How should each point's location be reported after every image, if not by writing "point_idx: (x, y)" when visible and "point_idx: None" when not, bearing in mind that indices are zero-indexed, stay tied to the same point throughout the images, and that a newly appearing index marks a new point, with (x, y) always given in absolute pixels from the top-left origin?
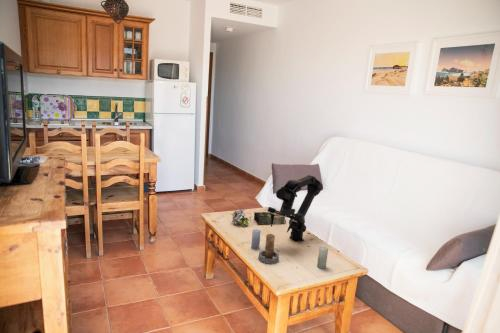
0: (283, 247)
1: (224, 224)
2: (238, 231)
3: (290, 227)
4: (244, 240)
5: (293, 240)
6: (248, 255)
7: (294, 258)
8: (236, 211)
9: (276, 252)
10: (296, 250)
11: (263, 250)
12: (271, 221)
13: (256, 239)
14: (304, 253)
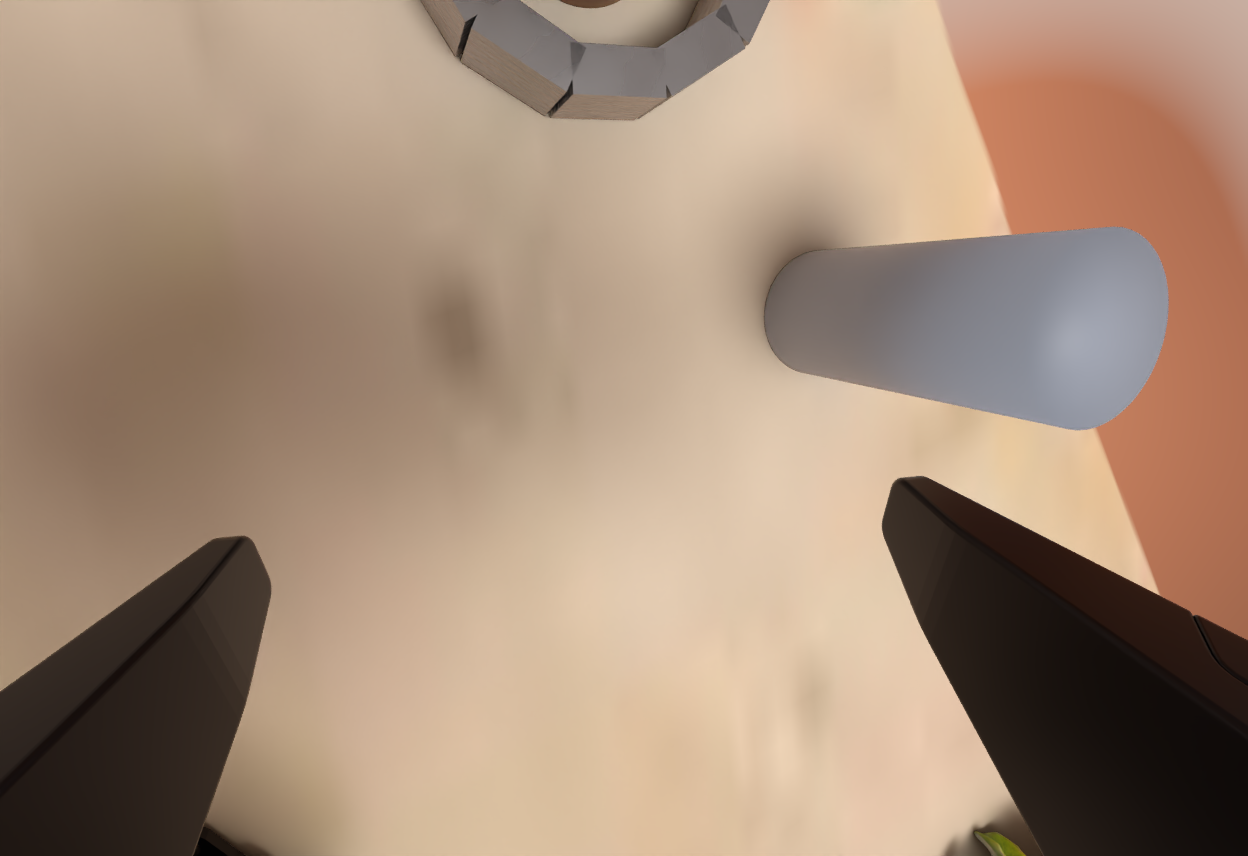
0: (378, 503)
1: None
2: None
3: None
4: (951, 488)
5: (228, 850)
6: (886, 4)
7: (21, 55)
8: None
9: (465, 8)
10: (69, 480)
11: (726, 52)
12: (1136, 586)
13: (941, 241)
14: None
